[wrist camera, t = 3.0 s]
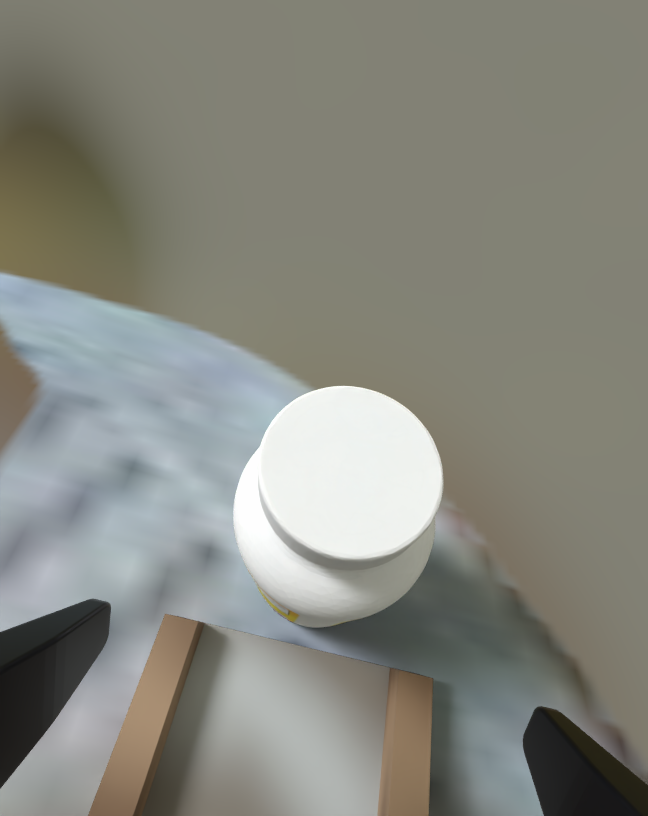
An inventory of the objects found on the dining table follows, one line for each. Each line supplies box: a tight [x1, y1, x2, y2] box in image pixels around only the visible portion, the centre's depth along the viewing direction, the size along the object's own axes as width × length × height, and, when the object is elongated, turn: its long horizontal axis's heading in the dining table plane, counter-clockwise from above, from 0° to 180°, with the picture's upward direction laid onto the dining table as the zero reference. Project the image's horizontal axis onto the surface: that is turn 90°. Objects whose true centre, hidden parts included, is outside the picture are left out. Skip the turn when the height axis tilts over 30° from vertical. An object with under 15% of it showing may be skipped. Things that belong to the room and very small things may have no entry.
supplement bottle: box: [233, 386, 443, 628], centre depth 14 cm, size 7×7×13 cm
